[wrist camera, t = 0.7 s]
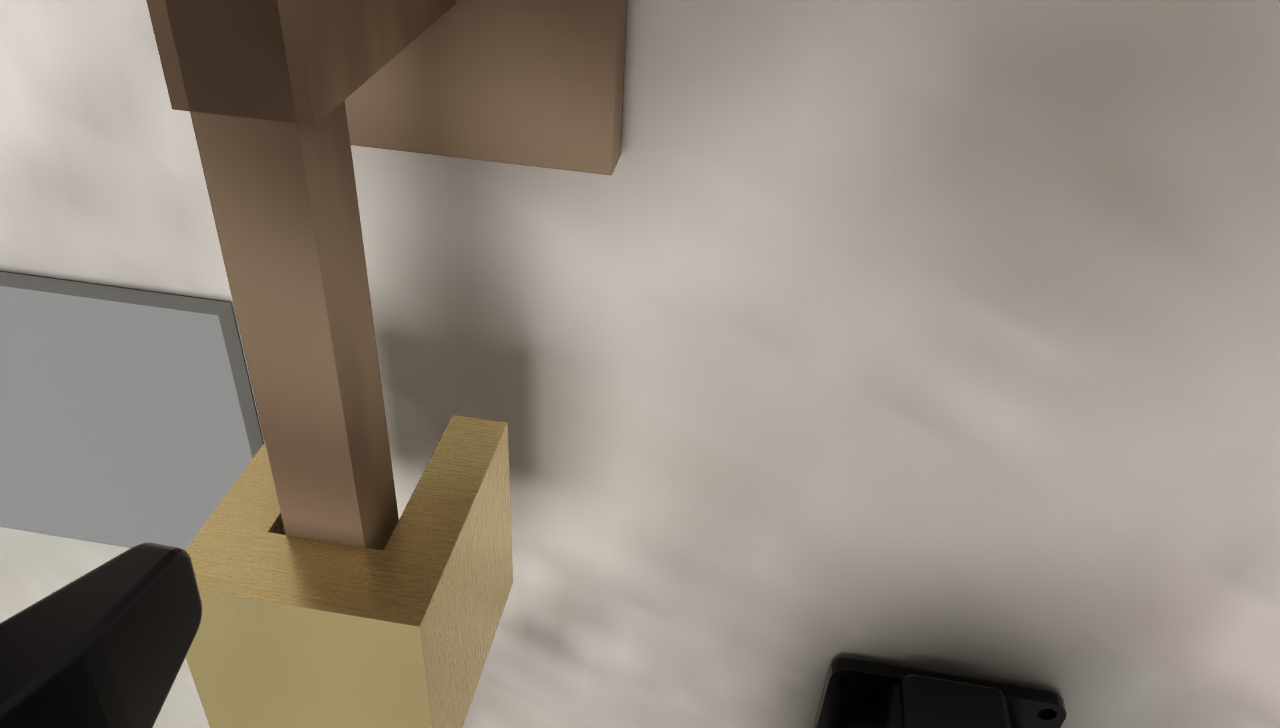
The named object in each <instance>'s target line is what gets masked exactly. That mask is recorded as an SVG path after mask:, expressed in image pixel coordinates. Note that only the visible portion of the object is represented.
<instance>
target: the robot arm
mask: <svg viewBox="0 0 1280 728" xmlns="http://www.w3.org/2000/svg"><path fill="white" fill-rule="evenodd" d="M201 618H202V602H201V598H200V594H199V590H198V586H197V582H196V577H195V573H194V569H193V565H192V561H191V558H190V555H189V554H188V553H187V552H186V551H185V550H183V549H181V548H177V547H172V546H167V545H162V544H157V543H142V544H139V545H136V546H134V547H132V548H131V549H129V550H127V551H125V552H124V553H122V554H120V555H118V556H117V557H115V558H113V559H111V560H110V561H108V562H106V563H104V564H103V565H101V566H99V567H97V568H96V569H94V570H92V571H90V572H89V573H87V574H85V575H84V576H82V577H80V578H78V579H77V580H75V581H73V582H71V583H70V584H68V585H66V586H64V587H63V588H61V589H59V590H57V591H56V592H54V593H52V594H50V595H49V596H47V597H45V598H43V599H42V600H40V601H38V602H36V603H35V604H33V605H31V606H30V607H28V608H26V609H24V610H23V611H21V612H19V613H17V614H16V615H14V616H12V617H10V618H9V619H7V620H5V621H3V622H2V623H0V728H152V727H153V725H154V723H155V721H156V719H157V717H158V715H159V712H160V710H161V708H162V706H163V704H164V702H165V700H166V697H167V695H168V693H169V691H170V689H171V687H172V685H173V683H174V680H175V678H176V676H177V674H178V672H179V670H180V668H181V666H182V663H183V661H184V659H185V657H186V655H187V653H188V651H189V648H190V646H191V644H192V642H193V640H194V638H195V636H196V634H197V631H198V629H199V626H200V622H201ZM1065 718H1066V709H1065V705H1064V701H1063V699H1062V697H1061V696H1060V695H1058V694H1057V693H1054V692H1051V691H1045V690H1039V689H1033V688H1026V687H1020V686H1014V685H1008V684H1002V683H996V682H989V681H983V680H977V679H971V678H965V677H958V676H952V675H946V674H940V673H934V672H928V671H921V670H915V669H909V668H903V667H897V666H890V665H884V664H878V663H872V662H866V661H859V660H853V659H840V660H836V661H835V662H833V663H832V664H831V666H830V667H829V671H828V675H827V679H826V682H825V686H824V690H823V694H822V697H821V701H820V705H819V708H818V712H817V716H816V720H815V723H814V727H813V728H1060V727H1061V725H1062V724H1063V722H1064V720H1065Z"/></svg>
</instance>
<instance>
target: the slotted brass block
mask: <svg viewBox="0 0 1280 728" xmlns="http://www.w3.org/2000/svg"><path fill="white" fill-rule="evenodd" d="M185 551H186V552H187V553H188V554H189V555H190V558H191V561H192V565H193V569H194V573H195V577H196V582H197V586H198V590H199V594H200V598H201V602H202V618H201V622H200V626H199V629H198V631H197V634H196V636H195V638H194V640H193V642H192V644H191V646H190V648H189V651H188V653H187V655H186V660H187V662H188V665H189V668H190V671H191V674H192V677H193V680H194V683H195V685H196V688H197V691H198V694H199V697H200V700H201V703H202V705H203V708H204V711H205V714H206V717H207V720H208V723H209V726H210V728H463V725H464V722H465V719H466V716H467V713H468V710H469V707H470V705H471V702H472V699H473V696H474V693H475V690H476V687H477V685H478V682H479V679H480V676H481V673H482V670H483V667H484V664H485V662H486V659H487V656H488V653H489V650H490V647H491V644H492V641H493V639H494V636H495V633H496V630H497V627H498V624H499V621H500V618H501V616H502V613H503V610H504V607H505V604H506V601H507V598H508V595H509V593H510V590H511V587H512V584H513V566H512V537H511V507H510V478H509V449H508V422H501V421H494V420H487V419H480V418H473V417H466V416H459V415H453V416H452V418H451V420H450V421H449V423H448V425H447V427H446V429H445V431H444V433H443V435H442V437H441V439H440V441H439V443H438V445H437V447H436V449H435V451H434V453H433V455H432V457H431V459H430V461H429V463H428V465H427V467H426V468H425V470H424V472H423V474H422V476H421V478H420V480H419V482H418V484H417V486H416V488H415V490H414V492H413V494H412V496H411V498H410V500H409V502H408V504H407V506H406V508H405V510H404V512H403V514H402V516H401V517H400V519H399V521H398V523H397V525H396V527H395V529H394V531H393V533H392V535H391V537H390V539H389V541H388V543H387V545H386V547H385V549H384V550H378V549H371V548H365V547H359V546H352V545H346V544H340V543H333V542H327V541H321V540H315V539H308V538H302V537H296V536H289V535H286V533H285V528H284V524H283V520H282V515H281V511H280V506H279V502H278V497H277V493H276V489H275V484H274V480H273V475H272V471H271V467H270V462H269V458H268V453H267V449H266V445H265V443H264V444H263V446H262V447H261V448H260V450H259V451H258V452H257V454H256V455H255V456H254V458H253V459H252V460H251V462H250V463H249V464H248V466H247V467H246V468H245V470H244V471H243V473H242V474H241V475H240V477H239V478H238V479H237V481H236V482H235V483H234V485H233V486H232V487H231V489H230V490H229V491H228V493H227V494H226V495H225V497H224V498H223V500H222V501H221V502H220V504H219V505H218V506H217V508H216V509H215V510H214V512H213V513H212V514H211V516H210V517H209V518H208V520H207V521H206V523H205V524H204V525H203V527H202V528H201V529H200V531H199V532H198V533H197V535H196V536H195V537H194V539H193V540H192V541H191V543H190V544H189V545H188V547H187V548H186V550H185Z"/></svg>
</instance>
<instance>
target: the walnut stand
mask: <svg viewBox="0 0 1280 728" xmlns="http://www.w3.org/2000/svg"><path fill="white" fill-rule="evenodd" d="M147 4H148V9H149V13H150V17H151V21H152V25H153V30H154V34H155V38H156V42H157V47H158V51H159V55H160V59H161V63H162V68H163V72H164V76H165V80H166V84H167V89H168V93H169V97H170V101H171V106H172V109H175V110H184V111H190V114H191V118H192V122H193V127H194V131H195V136H196V140H197V145H198V149H199V153H200V158H201V162H202V167H203V171H204V175H205V180H206V184H207V189H208V193H209V197H210V202H211V206H212V211H213V215H214V220H215V224H216V228H217V233H218V237H219V242H220V246H221V250H222V255H223V259H224V264H225V268H226V272H227V277H228V281H229V286H230V290H231V295H232V299H233V303H234V308H235V312H236V317H237V321H238V325H239V330H240V334H241V339H242V343H243V347H244V352H245V356H246V361H247V365H248V370H249V374H250V378H251V383H252V387H253V392H254V396H255V400H256V405H257V409H258V414H259V418H260V422H261V427H262V431H263V436H264V440H265V445H266V449H267V453H268V458H269V462H270V467H271V471H272V475H273V480H274V484H275V489H276V493H277V497H278V502H279V506H280V511H281V515H282V520H283V524H284V528H285V533H286V535H289V536H296V537H302V538H308V539H315V540H321V541H327V542H333V543H340V544H346V545H352V546H359V547H365V548H371V549H378V550H384V549H385V547H386V545H387V543H388V541H389V539H390V537H391V535H392V533H393V531H394V529H395V527H396V525H397V523H398V521H399V518H398V511H397V503H396V495H395V487H394V480H393V472H392V464H391V456H390V449H389V441H388V433H387V425H386V417H385V410H384V402H383V394H382V386H381V379H380V371H379V363H378V355H377V348H376V340H375V332H374V324H373V316H372V309H371V301H370V293H369V285H368V278H367V270H366V262H365V254H364V247H363V239H362V231H361V223H360V216H359V208H358V200H357V192H356V184H355V177H354V169H353V161H352V153H351V146H350V145H356V146H365V147H373V148H382V149H390V150H399V151H407V152H416V153H424V154H433V155H442V156H450V157H459V158H467V159H476V160H484V161H493V162H502V163H510V164H519V165H527V166H536V167H544V168H553V169H561V170H570V171H579V172H587V173H596V174H604V175H612V173H613V171H614V169H615V167H616V164H617V162H618V160H619V157H620V153H621V130H622V108H623V85H624V63H625V40H626V18H627V0H147Z"/></svg>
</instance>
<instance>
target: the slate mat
mask: <svg viewBox="0 0 1280 728" xmlns="http://www.w3.org/2000/svg"><path fill="white" fill-rule="evenodd" d="M262 446H263V441H262V437H261V432H260V428H259V424H258V419H257V415H256V411H255V406H254V402H253V397H252V393H251V389H250V384H249V380H248V375H247V371H246V367H245V362H244V358H243V354H242V349H241V345H240V340H239V336H238V332H237V327H236V323H235V319H234V314H233V310H232V305H231V303H230V302H222V301H215V300H207V299H200V298H192V297H185V296H178V295H170V294H163V293H155V292H148V291H141V290H133V289H126V288H118V287H111V286H103V285H96V284H89V283H81V282H74V281H66V280H59V279H52V278H44V277H37V276H29V275H22V274H14V273H7V272H0V527H4V528H11V529H17V530H23V531H29V532H35V533H41V534H48V535H54V536H60V537H66V538H72V539H78V540H85V541H91V542H97V543H103V544H109V545H115V546H121V547H128V548H132V547H134V546H136V545H139V544H142V543H157V544H162V545H167V546H172V547H177V548H181V549H183V550H186V548H187V547H188V545H189V544H190V543H191V541H192V540H193V539H194V537H195V536H196V535H197V533H198V532H199V531H200V529H201V528H202V527H203V525H204V524H205V523H206V521H207V520H208V518H209V517H210V516H211V514H212V513H213V512H214V510H215V509H216V508H217V506H218V505H219V504H220V502H221V501H222V500H223V498H224V497H225V495H226V494H227V493H228V491H229V490H230V489H231V487H232V486H233V485H234V483H235V482H236V481H237V479H238V478H239V477H240V475H241V474H242V473H243V471H244V470H245V468H246V467H247V466H248V464H249V463H250V462H251V460H252V459H253V458H254V456H255V455H256V454H257V452H258V451H259V450H260V448H261V447H262Z"/></svg>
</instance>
